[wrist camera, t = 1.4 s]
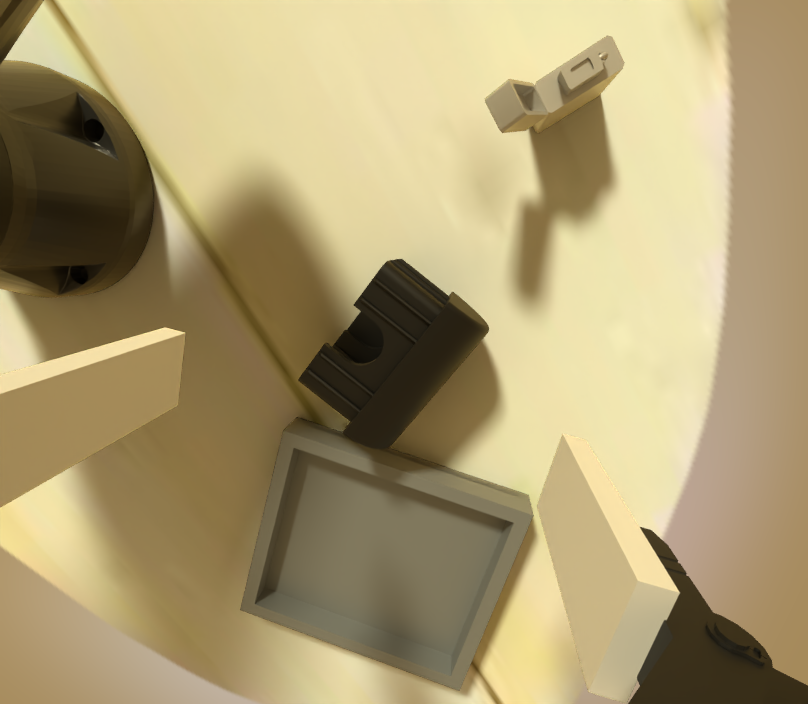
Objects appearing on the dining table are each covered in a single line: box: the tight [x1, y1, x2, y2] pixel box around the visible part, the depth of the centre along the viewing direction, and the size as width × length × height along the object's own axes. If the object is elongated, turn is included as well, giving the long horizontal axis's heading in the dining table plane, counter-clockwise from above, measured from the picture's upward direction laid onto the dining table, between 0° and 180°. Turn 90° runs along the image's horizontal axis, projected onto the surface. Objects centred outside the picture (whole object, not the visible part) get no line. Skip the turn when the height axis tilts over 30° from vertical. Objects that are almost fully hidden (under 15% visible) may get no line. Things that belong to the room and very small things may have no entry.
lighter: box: [485, 36, 624, 133], centre depth 24 cm, size 7×2×8 cm, turn 119°
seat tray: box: [240, 417, 533, 691], centre depth 34 cm, size 18×16×3 cm
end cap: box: [298, 259, 489, 449], centre depth 29 cm, size 10×7×7 cm
